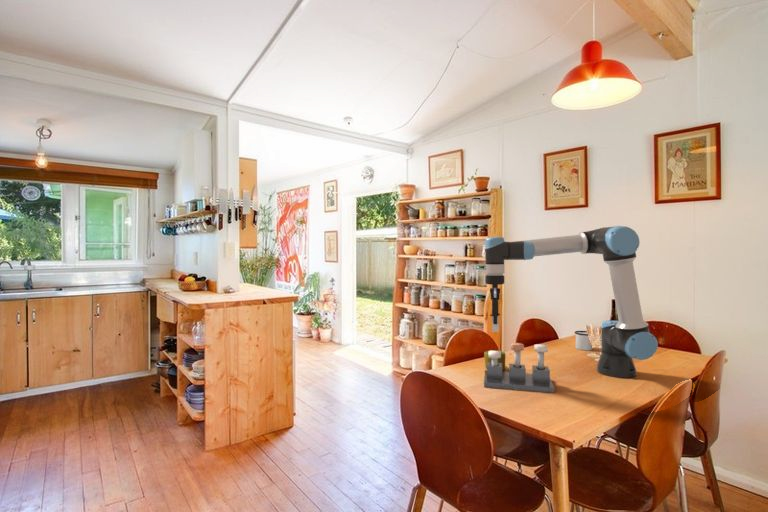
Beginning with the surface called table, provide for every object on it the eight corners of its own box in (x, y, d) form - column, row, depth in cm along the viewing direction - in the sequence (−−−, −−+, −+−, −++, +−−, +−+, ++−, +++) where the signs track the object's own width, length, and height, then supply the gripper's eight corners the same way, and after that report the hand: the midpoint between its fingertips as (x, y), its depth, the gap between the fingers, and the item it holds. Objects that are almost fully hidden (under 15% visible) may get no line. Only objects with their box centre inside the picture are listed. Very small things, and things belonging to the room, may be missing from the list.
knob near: (546, 369, 165) (546, 344, 164) (548, 372, 160) (548, 347, 159) (533, 368, 166) (533, 343, 166) (534, 371, 161) (534, 346, 161)
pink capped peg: (523, 367, 167) (523, 343, 167) (524, 371, 162) (524, 346, 162) (510, 366, 168) (510, 342, 168) (511, 370, 163) (511, 345, 163)
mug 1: (510, 369, 177) (503, 347, 180) (487, 375, 179) (480, 353, 182) (509, 367, 189) (502, 346, 191) (488, 372, 191) (481, 351, 193)
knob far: (500, 374, 169) (500, 351, 169) (500, 378, 165) (500, 354, 164) (488, 373, 171) (488, 350, 170) (488, 377, 166) (488, 353, 166)
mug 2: (588, 352, 214) (588, 335, 214) (570, 348, 222) (571, 332, 222) (599, 348, 221) (599, 332, 221) (582, 345, 229) (582, 329, 229)
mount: (548, 379, 170) (548, 363, 169) (554, 393, 154) (554, 374, 154) (484, 374, 176) (485, 358, 176) (484, 387, 161) (484, 369, 161)
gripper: (485, 273, 174) (486, 328, 174) (485, 275, 161) (485, 334, 162) (503, 273, 172) (504, 328, 172) (504, 275, 159) (505, 335, 160)
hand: (495, 331), depth 167 cm, fingers closed
